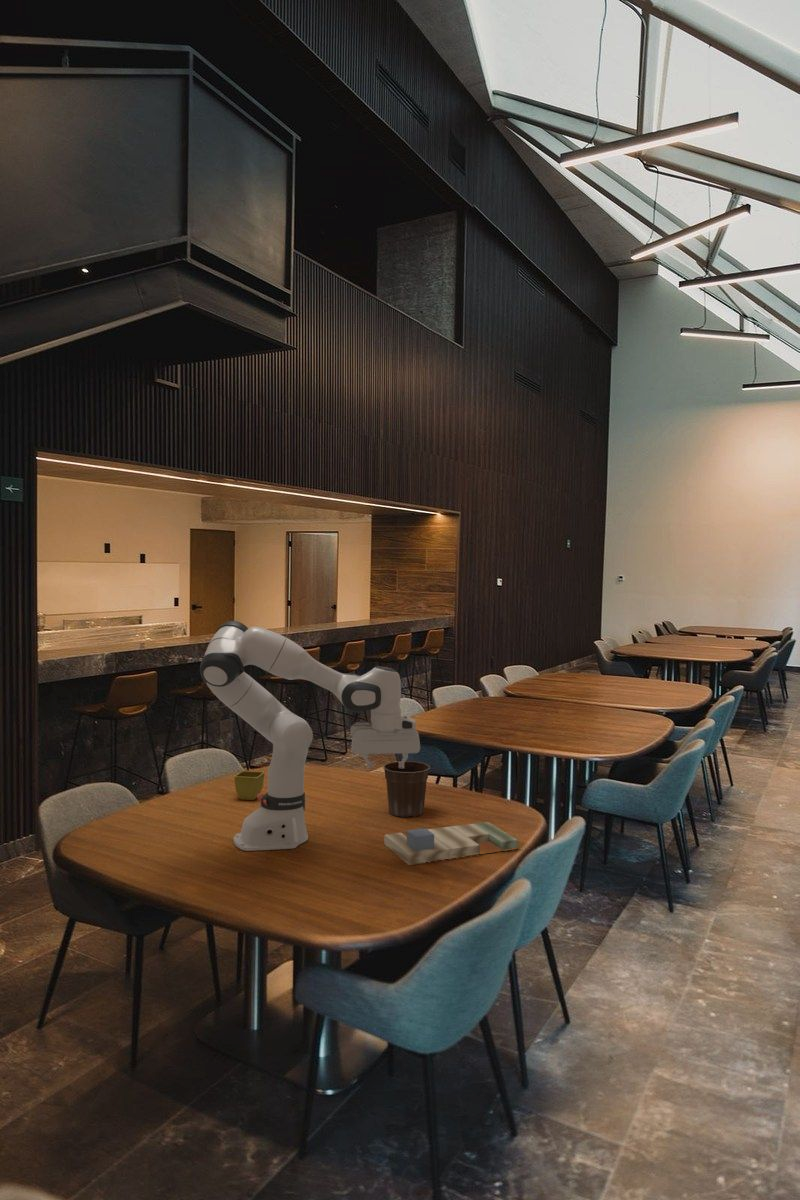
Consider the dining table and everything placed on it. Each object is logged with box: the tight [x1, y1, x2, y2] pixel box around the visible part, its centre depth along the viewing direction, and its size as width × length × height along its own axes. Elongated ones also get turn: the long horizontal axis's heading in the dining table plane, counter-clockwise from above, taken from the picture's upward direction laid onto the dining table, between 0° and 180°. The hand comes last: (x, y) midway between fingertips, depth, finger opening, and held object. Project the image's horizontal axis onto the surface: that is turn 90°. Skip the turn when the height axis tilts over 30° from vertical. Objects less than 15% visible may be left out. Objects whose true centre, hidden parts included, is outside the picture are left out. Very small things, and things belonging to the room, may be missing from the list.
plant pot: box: [382, 760, 431, 818], centre depth 264 cm, size 16×16×16 cm
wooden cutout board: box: [383, 821, 519, 866], centre depth 231 cm, size 36×18×3 cm, turn 113°
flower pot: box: [234, 770, 265, 801], centre depth 276 cm, size 9×9×9 cm
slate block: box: [406, 827, 434, 851], centre depth 222 cm, size 6×6×4 cm
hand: (385, 768), depth 224 cm, fingers open, 8 cm apart
